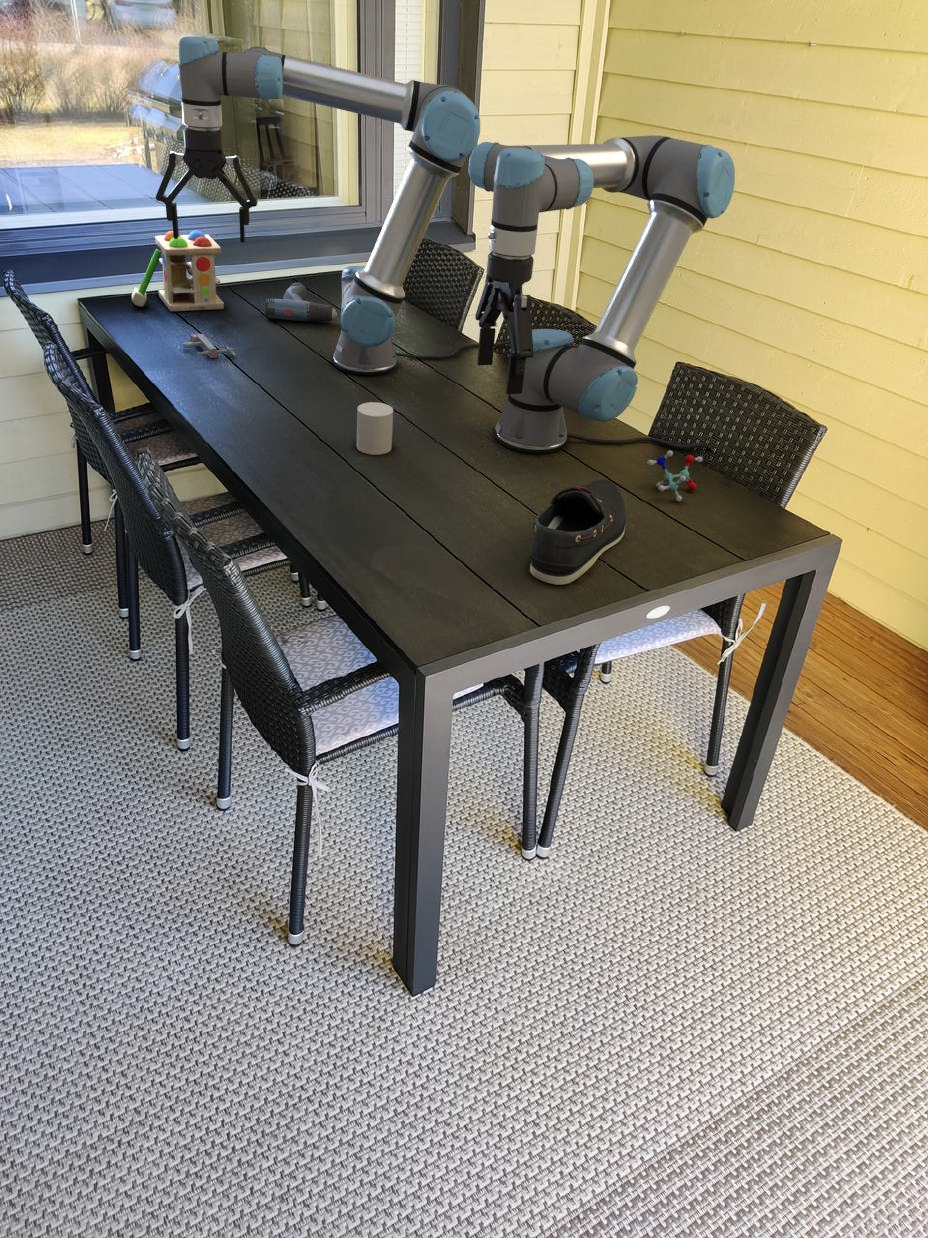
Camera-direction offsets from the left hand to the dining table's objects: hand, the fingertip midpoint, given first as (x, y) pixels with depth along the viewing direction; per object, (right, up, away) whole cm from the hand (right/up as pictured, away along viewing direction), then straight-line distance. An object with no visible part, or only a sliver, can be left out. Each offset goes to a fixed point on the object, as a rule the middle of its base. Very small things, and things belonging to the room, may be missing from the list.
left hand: (209, 239), depth 206 cm
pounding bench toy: (-24, +5, +58) cm, 63 cm away
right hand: (+60, -38, -34) cm, 78 cm away
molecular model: (+94, -55, -12) cm, 110 cm away
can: (+35, -45, -6) cm, 57 cm away
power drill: (+10, +3, +61) cm, 62 cm away
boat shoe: (+74, -66, -32) cm, 104 cm away
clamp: (-8, -16, +30) cm, 35 cm away
